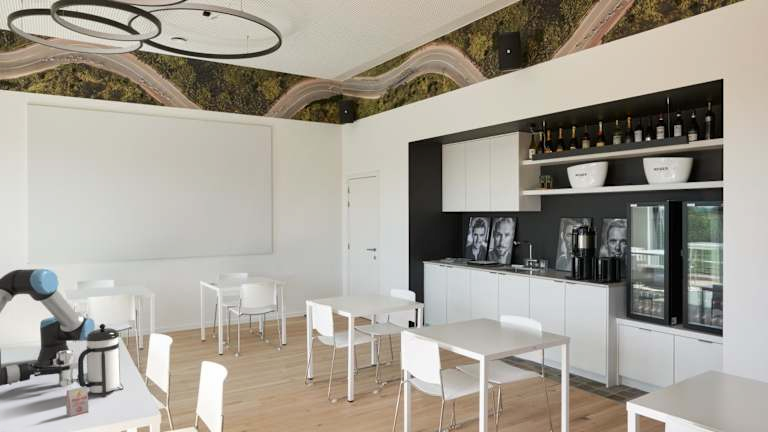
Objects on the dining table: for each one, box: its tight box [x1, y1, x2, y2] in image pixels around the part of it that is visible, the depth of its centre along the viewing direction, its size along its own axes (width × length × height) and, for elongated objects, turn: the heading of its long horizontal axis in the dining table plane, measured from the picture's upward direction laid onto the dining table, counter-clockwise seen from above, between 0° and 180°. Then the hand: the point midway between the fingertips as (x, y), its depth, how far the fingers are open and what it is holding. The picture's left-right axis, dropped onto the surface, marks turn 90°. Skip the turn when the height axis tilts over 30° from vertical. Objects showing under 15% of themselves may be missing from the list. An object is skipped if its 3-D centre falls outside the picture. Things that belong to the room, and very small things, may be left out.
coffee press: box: [77, 323, 124, 398], centre depth 227 cm, size 17×16×30 cm
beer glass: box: [55, 349, 75, 387], centre depth 240 cm, size 7×7×15 cm
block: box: [76, 372, 88, 384], centre depth 247 cm, size 2×9×8 cm
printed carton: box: [65, 386, 90, 418], centre depth 205 cm, size 4×7×10 cm, turn 134°
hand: (73, 362), depth 242 cm, fingers open, 13 cm apart
